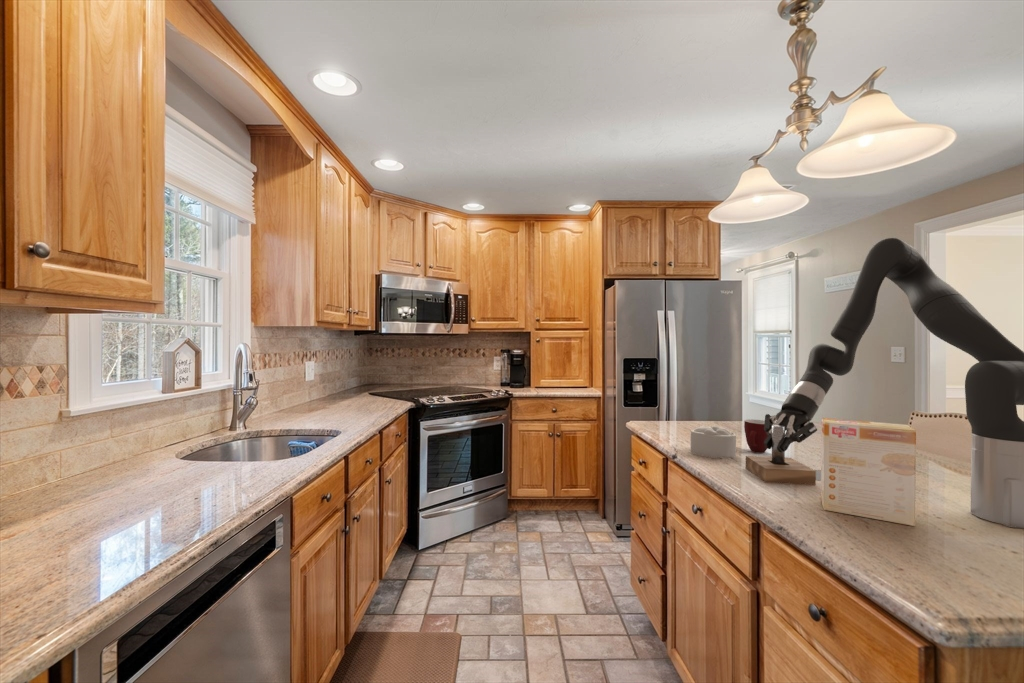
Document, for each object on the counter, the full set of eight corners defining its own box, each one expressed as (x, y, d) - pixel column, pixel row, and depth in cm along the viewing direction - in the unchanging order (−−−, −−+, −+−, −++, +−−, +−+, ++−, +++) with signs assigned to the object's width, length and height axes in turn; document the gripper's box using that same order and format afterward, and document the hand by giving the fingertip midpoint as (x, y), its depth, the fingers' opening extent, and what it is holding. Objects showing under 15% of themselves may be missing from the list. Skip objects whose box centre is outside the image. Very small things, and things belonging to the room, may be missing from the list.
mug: (768, 457, 132) (769, 426, 132) (740, 453, 137) (740, 423, 137) (773, 451, 140) (773, 421, 140) (746, 447, 145) (746, 418, 145)
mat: (844, 483, 108) (844, 481, 108) (810, 481, 109) (810, 479, 109) (820, 471, 118) (820, 469, 118) (790, 469, 119) (790, 468, 119)
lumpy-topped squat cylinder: (697, 447, 144) (697, 422, 144) (739, 454, 136) (739, 428, 136) (688, 453, 136) (688, 427, 136) (732, 461, 127) (732, 433, 127)
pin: (786, 464, 111) (787, 427, 111) (774, 464, 111) (775, 427, 111) (781, 461, 114) (781, 424, 114) (769, 460, 114) (769, 424, 114)
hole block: (815, 486, 106) (815, 470, 106) (765, 483, 107) (765, 468, 107) (790, 471, 117) (790, 457, 117) (745, 469, 119) (745, 455, 119)
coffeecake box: (906, 515, 89) (908, 424, 89) (916, 527, 83) (917, 429, 82) (819, 500, 97) (820, 416, 97) (822, 510, 91) (824, 421, 90)
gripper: (773, 389, 122) (742, 433, 117) (824, 395, 109) (792, 446, 104) (785, 406, 124) (755, 450, 119) (837, 414, 111) (806, 465, 106)
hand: (773, 448), depth 112 cm, fingers closed on pin, 3 cm apart
